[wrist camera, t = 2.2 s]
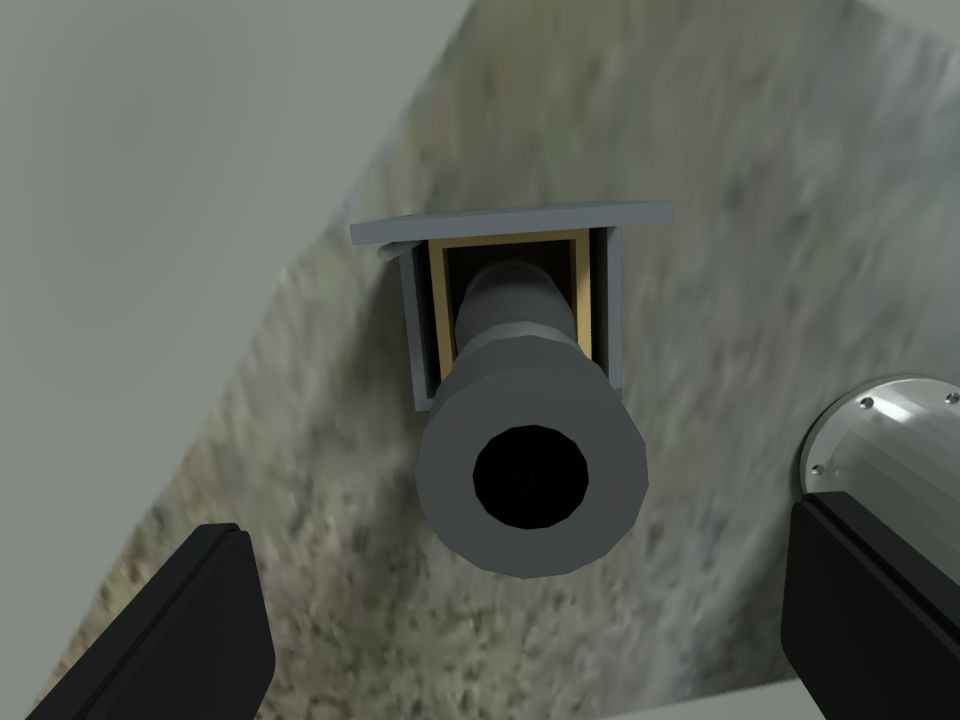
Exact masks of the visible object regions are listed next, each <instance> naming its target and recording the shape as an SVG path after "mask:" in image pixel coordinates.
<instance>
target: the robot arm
mask: <svg viewBox="0 0 960 720" xmlns="http://www.w3.org/2000/svg"><path fill="white" fill-rule="evenodd" d="M799 470H800V484H801V487H802V490H803V493H804V496H803V498H802V500H801V502H796V503H795V504H794V505H793V507H792V513H791V524H790V535H789V546H788V557H787V567H786V578H785V589H784V600H783V610H782V621H781V643H782V647H783V650H784V653H785V655H786V657H787V659H788V660H789V662H790V664H791V665H792V667H793V668H794V670H795V671H796V673H797V675H798V676H799V678H800V679H801V681H802V682H803V684H804V685H805V687H806V689H807V690H808V692H809V693H810V695H811V696H812V698H813V699H814V701H815V703H816V704H817V706H818V707H819V709H820V711H821V712H822V714H823V715H824V717H825V718H826V720H960V388H958V387H956V386H953V385H951V384H949V383H947V382H944V381H941V380H938V379H935V378H932V377H926V376H918V375H902V376H892V377H887V378H883V379H879V380H875V381H872V382H870V383H867V384H865V385H863V386H860V387H858V388H856V389H854V390H853V391H851V392H849V393H848V394H846V395H844V396H843V397H841V398H840V399H839V400H838V401H837V402H835V403H834V404H833V405H832V406H831V407H830V408H828V409H827V410H826V412H825V413H824V414H823V415H822V416H821V417H820V419H819V420H818V421H817V422H816V424H815V425H814V427H813V429H812V430H811V432H810V434H809V435H808V437H807V440H806V442H805V445H804V448H803V451H802V454H801V461H800V468H799ZM275 660H276V658H275V651H274V646H273V642H272V637H271V632H270V628H269V623H268V618H267V613H266V609H265V604H264V599H263V595H262V590H261V585H260V581H259V576H258V571H257V566H256V562H255V557H254V552H253V548H252V543H251V539H250V535H249V534H248V532H247V531H241V530H240V528H239V526H238V525H237V524H235V523H220V524H203V525H200V526H199V527H197V528H196V529H195V530H194V531H193V532H192V534H191V535H190V536H189V537H188V538H187V539H186V540H185V541H184V543H183V544H182V545H181V546H180V547H179V548H178V549H177V550H176V551H175V553H174V554H173V555H172V556H171V557H170V558H169V559H168V560H167V562H166V563H165V564H164V565H163V566H162V567H161V568H160V569H159V570H158V572H157V573H156V574H155V575H154V576H153V577H152V578H151V579H150V581H149V582H148V583H147V584H146V585H145V586H144V587H143V588H142V590H141V591H140V592H139V593H138V594H137V595H136V596H135V597H134V598H133V600H132V601H131V602H130V603H129V604H128V605H127V606H126V607H125V609H124V610H123V611H122V612H121V613H120V614H119V615H118V616H117V617H116V619H115V620H114V621H113V622H112V623H111V624H110V625H109V626H108V628H107V629H106V630H105V631H104V632H103V633H102V634H101V635H100V636H99V638H98V639H97V640H96V641H95V642H94V643H93V644H92V645H91V647H90V648H89V649H88V650H87V651H86V652H85V653H84V654H83V655H82V657H81V658H80V659H79V660H78V661H77V662H76V663H75V664H74V666H73V667H72V668H71V669H70V670H69V671H68V672H67V673H66V674H65V676H64V677H63V678H62V679H61V680H60V681H59V682H58V683H57V685H56V686H55V687H54V688H53V689H52V690H51V691H50V692H49V693H48V695H47V696H46V697H45V698H44V699H43V700H42V701H41V702H40V704H39V705H38V706H37V707H36V708H35V709H34V710H33V711H32V712H31V714H30V715H29V716H28V717H27V718H26V719H25V720H254V718H255V715H256V713H257V711H258V709H259V707H260V705H261V702H262V700H263V698H264V696H265V694H266V691H267V689H268V687H269V685H270V683H271V680H272V678H273V675H274V671H275Z"/></svg>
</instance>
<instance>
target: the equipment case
mask: <svg viewBox="0 0 960 720" xmlns="http://www.w3.org/2000/svg"><path fill="white" fill-rule="evenodd" d="M673 216H674V201H599V202H585V203H571V204H558V205H544V206H531V207H517V208H504V209H490V210H477V211H463V212H450V213H436V214H423V215H409V216H401V217H395V218H389V219H383V220H377V221H370V222H364V223H358V224H352V225H350V230H351V238H352V245H357V244H371V243H385V242H392V243H389V244H387V245H384V246H381V247H380V248H379V250H378V257H379V258H380V260H382V261H389V260H391V259H393V258H395V257H397V256H399V264H400V273H401V282H402V291H403V300H404V309H405V319H406V328H407V337H408V346H409V355H410V364H411V373H412V382H413V391H414V401H415V410H416V411H430V409H431V406H432V403H433V400H434V397H435V394H436V391H437V389H438V387H439V386H440V385H441V383H442V382H443V381H444V379H445V378H446V377H447V375H448V374H449V373H450V371H451V370H452V365H453V362H454V360H455V359H456V358H457V357H456V346H455V334H454V323H453V311H452V300H451V288H450V276H449V265H448V253H447V248H452V247H466V246H480V245H494V244H509V243H523V242H537V241H551V240H565V239H570V267H571V303H572V313H573V317H574V326H575V335H576V338H575V342H577V343H578V344H579V345H580V347H581V349H582V351H583V352H584V354H585V356H587V357H588V358H589V359H591V311H590V258H589V228H595V227H596V259H597V324H598V365H599V366H600V367H601V369H602V370H603V372H604V374H605V375H606V377H607V379H608V380H609V382H610V384H611V385H612V387H613V389H614V390H615V392H616V394H617V395H618V397H619V399H620V400H622V238H621V226H623V225H637V224H651V223H665V222H673ZM427 239H428V244H429V254H430V265H431V275H432V286H433V297H434V307H435V318H436V328H437V339H438V349H439V360H440V370H441V379H435V380H434V373H433V363H432V353H431V343H430V332H429V322H428V312H427V302H426V292H425V282H424V272H423V262H422V251H421V243H423V242H424V241H426V240H427Z"/></svg>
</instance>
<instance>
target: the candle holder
mask: <svg viewBox="0 0 960 720" xmlns="http://www.w3.org/2000/svg"><path fill="white" fill-rule="evenodd" d="M454 332H455V338H456V344H457V349H458V354H459V355H458V356H457V358H456V359H455V360H454V362H453V365H452V370H451V371H450V373H449V374H448V375H447V377H446V378H445V379H444V381H443V382H442V383H441V385H440V386H439V387H438V389H437V391H436V394H435V397H434V400H433V403H432V406H431V409H430V412H429V415H428V418H427V421H426V424H425V427H424V430H423V434H422V438H421V443H420V447H419V451H418V456H417V460H416V464H415V468H414V477H415V482H416V486H417V491H418V496H419V501H420V506H421V511H422V513H423V515H424V516H425V518H426V519H427V520H428V522H429V523H430V525H431V526H432V528H433V529H434V530H435V532H436V533H437V535H438V536H439V537H440V539H441V540H442V542H443V543H444V545H445V546H446V547H448V548H449V549H451V550H452V551H454V552H455V553H457V554H458V555H460V556H461V557H463V558H465V559H466V560H468V561H469V562H471V563H472V564H474V565H475V566H477V567H478V568H480V569H482V570H486V571H491V572H495V573H499V574H504V575H508V576H512V577H517V578H521V579H528V578H537V577H546V576H555V575H564V574H568V573H570V572H572V571H574V570H576V569H578V568H580V567H582V566H584V565H587V564H589V563H591V562H593V561H595V560H597V559H599V558H601V557H603V556H605V555H606V554H607V553H608V552H609V551H610V550H611V549H612V548H613V547H614V546H615V545H616V543H617V542H618V541H619V540H620V539H621V538H622V537H623V536H624V535H625V534H626V533H627V532H628V531H629V530H630V529H631V527H632V526H633V525H634V524H635V521H636V518H637V516H638V513H639V510H640V507H641V505H642V502H643V499H644V497H645V494H646V491H647V488H648V486H649V484H648V472H647V459H646V447H645V442H644V440H643V439H642V437H641V435H640V433H639V432H638V430H637V428H636V426H635V425H634V423H633V421H632V419H631V418H630V416H629V414H628V412H627V411H626V409H625V407H624V405H623V404H622V402H621V400H620V399H619V397H618V395H617V394H616V392H615V390H614V389H613V387H612V385H611V384H610V382H609V380H608V379H607V377H606V375H605V374H604V372H603V370H602V369H601V367H600V366H599V365H597V364H596V363H595V362H593V361H592V360H591V359H589V358H588V357H587V356H585V354H584V352H583V351H582V349H581V347H580V345H579V344H578V343H577V342H575V338H576V335H575V326H574V317H573V313H572V311H571V309H570V307H569V306H568V304H567V302H566V300H565V299H564V297H563V295H562V293H561V292H560V291H559V289H558V288H557V286H556V284H555V283H554V281H553V279H552V277H551V276H550V274H549V273H548V271H547V270H546V269H545V268H544V267H542V266H541V265H540V264H538V263H537V262H536V261H535V260H533V259H532V258H528V257H524V256H520V255H516V254H511V255H505V256H498V257H495V258H493V259H491V260H490V261H488V262H486V263H485V264H483V265H482V266H480V267H479V269H478V270H477V271H476V273H475V274H474V275H473V277H472V278H471V280H470V281H469V283H468V286H467V289H466V293H465V297H464V301H463V303H462V305H461V306H460V309H459V313H458V317H457V322H456V326H455V330H454Z"/></svg>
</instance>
